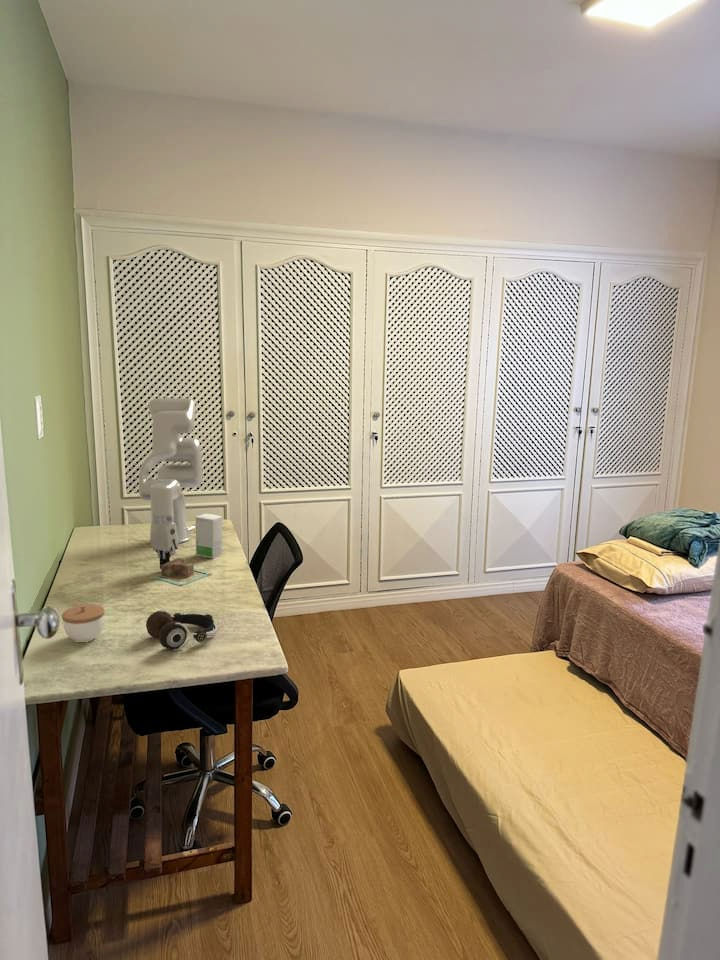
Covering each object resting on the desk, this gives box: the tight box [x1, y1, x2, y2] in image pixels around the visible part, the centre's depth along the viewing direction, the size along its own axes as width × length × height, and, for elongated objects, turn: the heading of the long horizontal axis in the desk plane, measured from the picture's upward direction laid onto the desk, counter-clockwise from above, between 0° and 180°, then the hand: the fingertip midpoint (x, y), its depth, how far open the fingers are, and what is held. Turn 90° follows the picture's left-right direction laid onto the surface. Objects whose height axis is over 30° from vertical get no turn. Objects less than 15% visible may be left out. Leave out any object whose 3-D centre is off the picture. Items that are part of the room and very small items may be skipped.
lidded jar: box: [61, 603, 105, 643], centre depth 178 cm, size 11×11×9 cm
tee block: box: [160, 557, 195, 578], centre depth 229 cm, size 9×9×4 cm
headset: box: [145, 609, 218, 651], centre depth 181 cm, size 17×8×20 cm
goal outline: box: [153, 568, 211, 587], centre depth 227 cm, size 14×14×1 cm
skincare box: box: [195, 513, 223, 559], centre depth 248 cm, size 8×7×16 cm
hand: (165, 568), depth 231 cm, fingers closed
